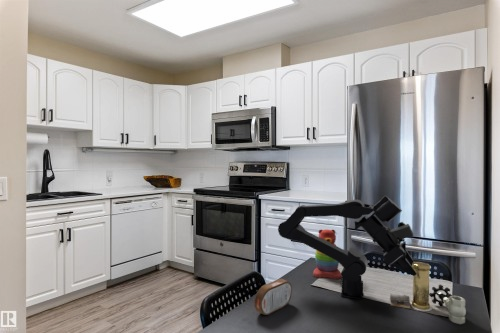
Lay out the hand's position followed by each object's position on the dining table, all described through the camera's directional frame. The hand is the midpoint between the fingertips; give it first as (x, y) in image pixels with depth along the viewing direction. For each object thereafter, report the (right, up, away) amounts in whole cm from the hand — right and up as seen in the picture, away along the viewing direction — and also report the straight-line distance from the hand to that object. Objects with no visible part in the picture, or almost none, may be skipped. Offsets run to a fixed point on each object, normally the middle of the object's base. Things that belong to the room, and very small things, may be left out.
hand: (415, 270), depth 98 cm
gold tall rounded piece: (+2, -11, -1) cm, 11 cm away
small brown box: (-4, -11, +2) cm, 12 cm away
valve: (+8, -12, -5) cm, 15 cm away
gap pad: (+2, -11, -1) cm, 11 cm away
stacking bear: (-21, -11, +28) cm, 36 cm away
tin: (-44, -12, -2) cm, 46 cm away
